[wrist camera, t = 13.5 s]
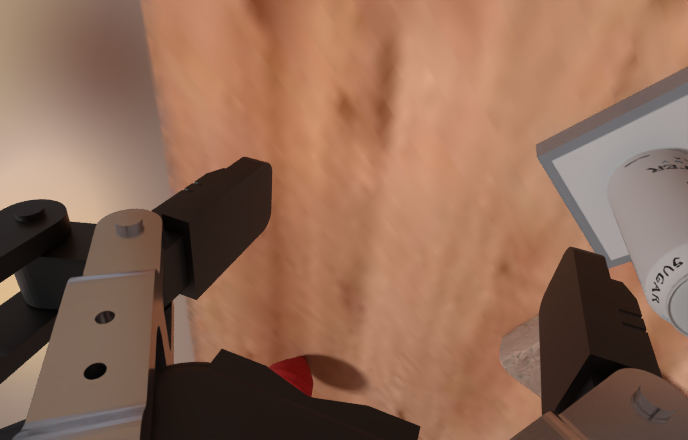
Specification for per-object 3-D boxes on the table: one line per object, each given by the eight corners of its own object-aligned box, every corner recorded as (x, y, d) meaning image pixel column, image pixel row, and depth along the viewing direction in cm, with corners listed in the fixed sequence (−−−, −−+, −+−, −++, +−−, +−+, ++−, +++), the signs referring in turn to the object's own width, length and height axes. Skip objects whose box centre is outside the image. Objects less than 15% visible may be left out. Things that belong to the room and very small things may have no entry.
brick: (674, 398, 45) (688, 438, 42) (601, 425, 50) (608, 462, 46) (559, 297, 44) (563, 328, 40) (496, 333, 49) (494, 364, 45)
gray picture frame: (698, 61, 31) (715, 69, 29) (762, 193, 34) (783, 212, 31) (535, 145, 38) (537, 158, 35) (600, 251, 40) (605, 270, 38)
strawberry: (273, 337, 62) (236, 394, 53) (323, 345, 59) (291, 405, 51) (281, 367, 64) (247, 426, 56) (329, 376, 62) (300, 439, 53)
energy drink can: (721, 167, 31) (852, 295, 19) (659, 230, 35) (736, 373, 22) (640, 131, 32) (716, 232, 19) (587, 196, 35) (624, 317, 23)
